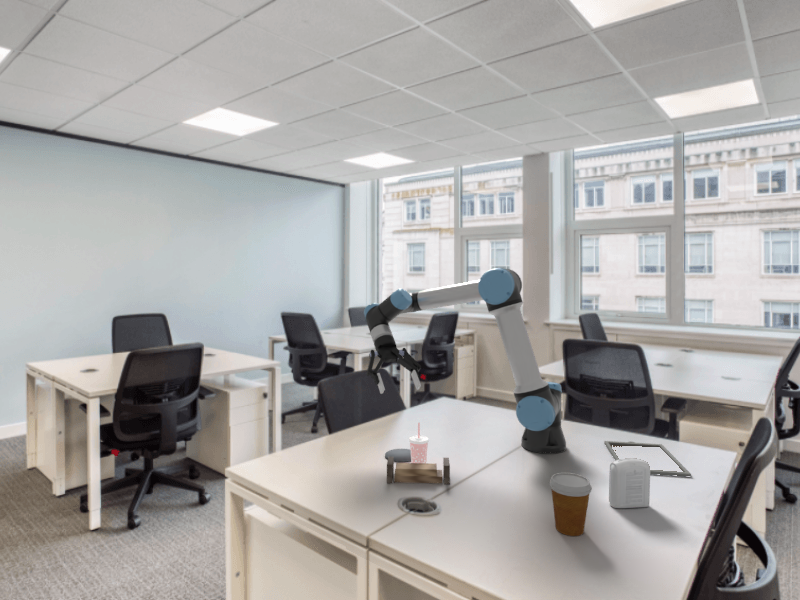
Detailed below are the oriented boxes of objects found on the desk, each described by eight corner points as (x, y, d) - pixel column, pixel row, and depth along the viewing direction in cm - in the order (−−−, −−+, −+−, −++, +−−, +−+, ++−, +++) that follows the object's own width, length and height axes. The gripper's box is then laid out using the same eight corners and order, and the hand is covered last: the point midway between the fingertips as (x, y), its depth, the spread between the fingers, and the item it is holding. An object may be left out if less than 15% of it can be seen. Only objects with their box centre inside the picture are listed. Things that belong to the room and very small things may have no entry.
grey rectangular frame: (622, 469, 150) (602, 438, 180) (622, 474, 151) (602, 442, 180) (691, 474, 147) (659, 441, 176) (691, 479, 147) (659, 446, 176)
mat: (424, 454, 166) (424, 453, 166) (404, 464, 157) (404, 462, 157) (398, 448, 172) (398, 446, 172) (378, 457, 164) (378, 455, 164)
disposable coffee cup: (542, 520, 121) (543, 472, 120) (580, 518, 121) (580, 471, 121) (558, 541, 111) (558, 488, 111) (598, 539, 112) (599, 487, 111)
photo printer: (642, 500, 132) (642, 454, 131) (652, 507, 127) (653, 460, 127) (606, 502, 130) (606, 456, 130) (615, 510, 126) (616, 462, 125)
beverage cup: (409, 462, 159) (409, 419, 158) (428, 463, 158) (428, 420, 158) (409, 470, 152) (409, 425, 152) (428, 470, 152) (428, 425, 152)
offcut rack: (448, 475, 148) (448, 457, 148) (449, 484, 142) (449, 465, 142) (388, 474, 149) (388, 456, 149) (386, 483, 143) (386, 464, 143)
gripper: (410, 344, 187) (429, 392, 174) (348, 348, 176) (363, 399, 163) (417, 332, 182) (437, 380, 169) (353, 335, 171) (370, 386, 158)
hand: (401, 389), depth 166 cm, fingers open, 13 cm apart
